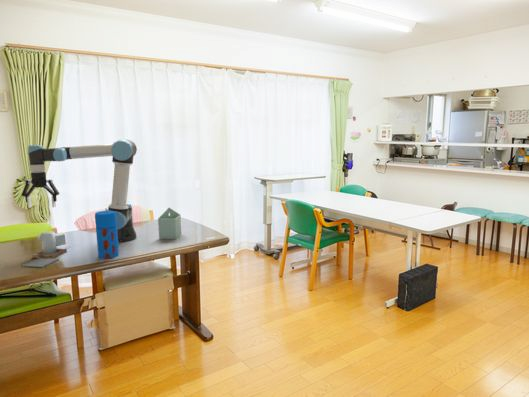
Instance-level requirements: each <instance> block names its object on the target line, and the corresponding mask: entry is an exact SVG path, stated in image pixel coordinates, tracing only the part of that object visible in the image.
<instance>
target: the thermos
mask: <svg viewBox="0 0 529 397" xmlns="http://www.w3.org/2000/svg"><path fill="white" fill-rule="evenodd" d="M94 219H95V232H96V233H95V234H96V243H97V244H96V245H97V246H96V247H97V253H98V254H97V255H98V258H99V259H103V260H106V259H107V260H108V259H113V258H114V259H115V258H117V257H119V254H120V253H119V250H120V249H119V248H120V247H119V241H118V235H117V222H116V213H115V211H108V210H101V211H96V212H95V213H94Z"/></svg>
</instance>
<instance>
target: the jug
mask: <svg viewBox="0 0 529 397" xmlns="http://www.w3.org/2000/svg"><path fill="white" fill-rule="evenodd" d="M37 239H38V240H41V248H42V250H43V254H45V255H52V254H54V253H57V247H60V246H64V245H66V244H67V243H66V235H65V233H61V234H56V232H55V231H53V230H52V231H51V230H50V231H48V230H47V231H43V232H41V233H40V234H37ZM42 250H41V251H42Z"/></svg>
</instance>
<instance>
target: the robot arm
mask: <svg viewBox="0 0 529 397" xmlns="http://www.w3.org/2000/svg"><path fill="white" fill-rule="evenodd" d="M137 148H138V147H137V145H136V143H135V142H134V141H133V140H130V139H118V140H117V141H114V142H113V143H107V144H105V143H103V144H93V145H80V146H66V147H65V146H64V147H55V148H53V147H52V148H51V147H50V148H44V147H43V145H41V144H34V145H28V147H27V155H28V162H29V169H30V178H31V180H30V179H26V180H25V184H24V185H25V186H24V188H23V189H22V190H23V191H22V193H21V196H22V197H24V198H25V203H27V208H28V209H30V208H32V207H33V206H32V205H33V204H32V196H30V195H31V194H32V193H33V192H34V191H35V189H39V188H43V189H45V190H46V191H47V192H48V193H49V194H50V195H51V197H50V198H51V206H52V208H56V202H57V196H58V195H60V192H59V191H58V189H57V188H56V186H55V184H54V183H53V179H47V174H46V165H45V164H46V163H45V162H65V161H67V160H76V159H77V160H79V159H90V158H91V159H92V158H103V157H105V158H106V157H112V159H111V161H112V163H113V165H114V170H113V180H112V182H113V183H112V193H111V203H110V204H108V207H107V208H108V210H107V211H115V213H116V222H117V235H118V242H129V241H132V240H135V239H137V237H138V236H137V232H136V230H135V227H134V222H133V220H134V219H133V206H132V204H130V203H127V201H128V191H129V179H130V170H131V169H130V168H131V165H133V164H134V156H135V155H136V154H137V151H138V149H137ZM30 186H31V187H30Z"/></svg>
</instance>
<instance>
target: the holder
mask: <svg viewBox="0 0 529 397" xmlns="http://www.w3.org/2000/svg"><path fill="white" fill-rule="evenodd" d="M67 252H68V251H67V248H57V253H54V254H52V255H45V254H43V250H40V251H37V252H35V253H33V254H32V255H31V256H32V258H33V259H38V258H50V259H56V258H58V257H59V256H62V255H65V253H67Z"/></svg>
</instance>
